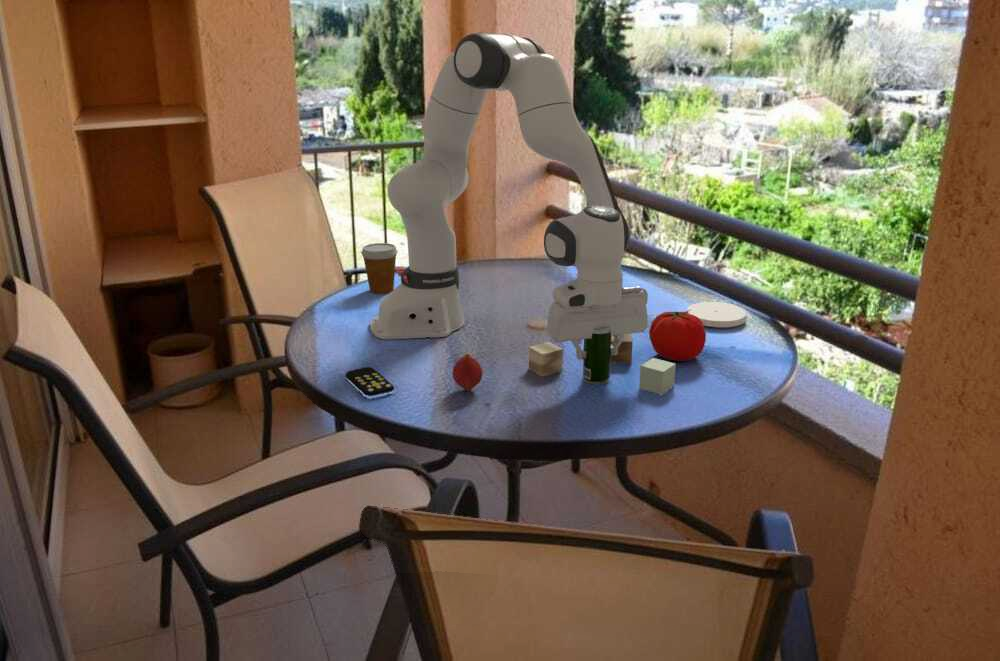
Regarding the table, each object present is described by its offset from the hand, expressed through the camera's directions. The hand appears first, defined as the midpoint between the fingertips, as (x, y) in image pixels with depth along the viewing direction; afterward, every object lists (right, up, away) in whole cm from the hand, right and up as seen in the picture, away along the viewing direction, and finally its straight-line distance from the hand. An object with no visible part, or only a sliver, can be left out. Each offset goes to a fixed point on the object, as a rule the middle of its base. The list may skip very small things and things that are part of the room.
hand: (596, 356), depth 168 cm
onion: (-26, -7, -2) cm, 27 cm away
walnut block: (+6, -1, +12) cm, 14 cm away
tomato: (+18, -1, +13) cm, 22 cm away
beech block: (-10, -3, +7) cm, 12 cm away
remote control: (-46, -6, 0) cm, 46 cm away
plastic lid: (+33, +7, +34) cm, 48 cm away
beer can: (0, -5, +2) cm, 5 cm away
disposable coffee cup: (-51, +16, +58) cm, 79 cm away
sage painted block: (+12, -6, -2) cm, 13 cm away
